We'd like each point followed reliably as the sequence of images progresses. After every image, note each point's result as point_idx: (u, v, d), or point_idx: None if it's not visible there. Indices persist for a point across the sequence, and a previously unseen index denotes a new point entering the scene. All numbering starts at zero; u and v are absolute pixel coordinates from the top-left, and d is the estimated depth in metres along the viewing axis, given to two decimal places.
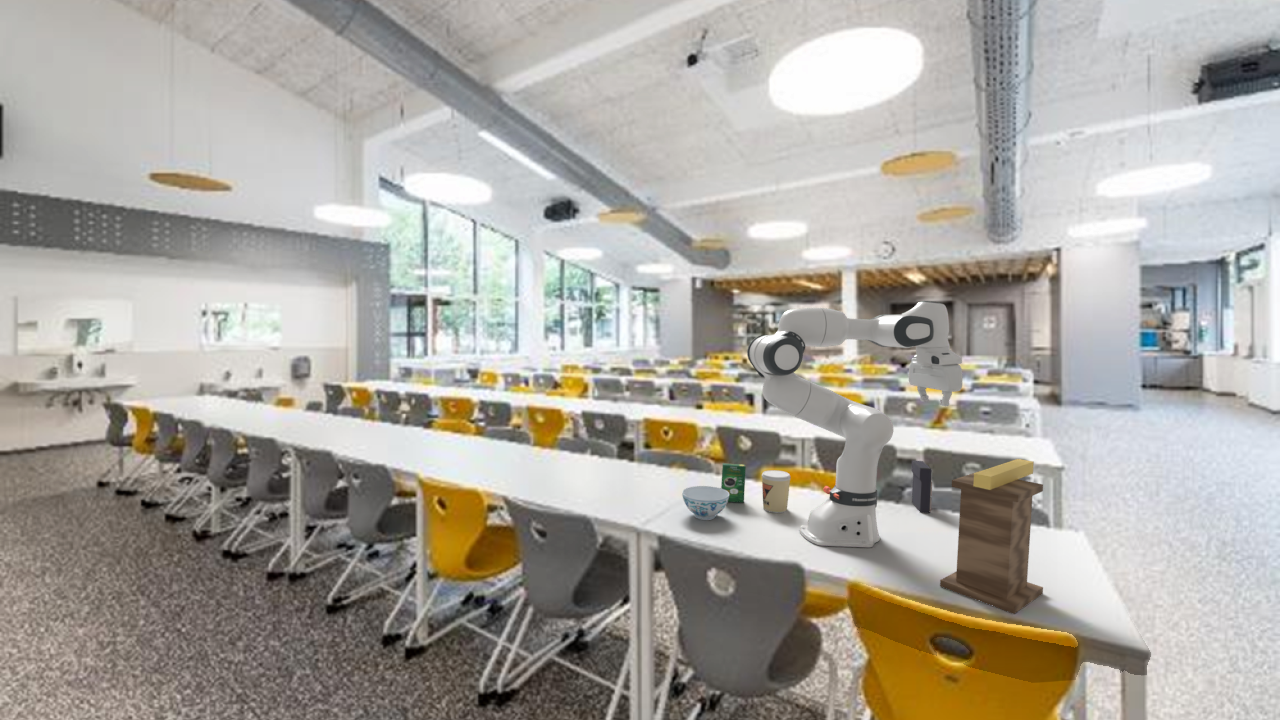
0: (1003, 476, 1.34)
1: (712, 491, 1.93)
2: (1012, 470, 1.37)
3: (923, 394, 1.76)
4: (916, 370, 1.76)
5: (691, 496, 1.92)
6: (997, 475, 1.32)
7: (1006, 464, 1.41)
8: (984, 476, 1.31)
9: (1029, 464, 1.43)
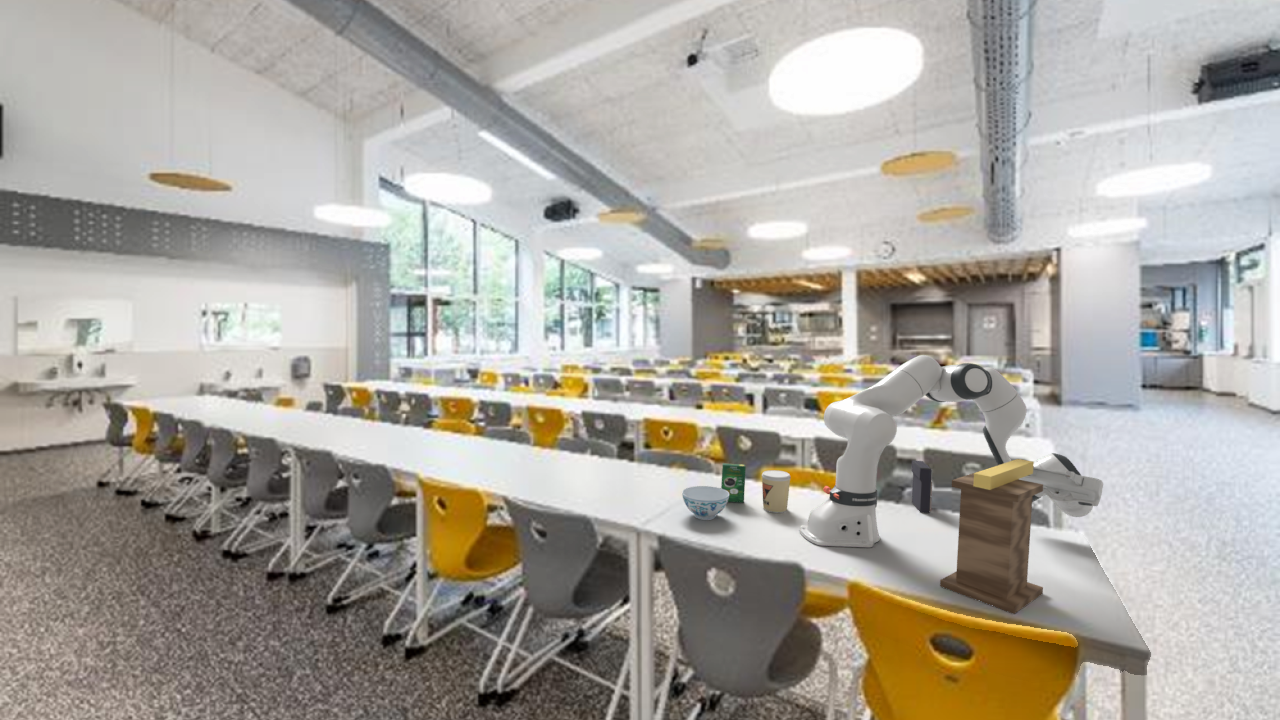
0: (1003, 476, 1.34)
1: (712, 490, 1.93)
2: (1012, 470, 1.37)
3: None
4: None
5: (691, 496, 1.92)
6: (997, 475, 1.32)
7: (1006, 464, 1.41)
8: (984, 476, 1.31)
9: (1029, 464, 1.43)
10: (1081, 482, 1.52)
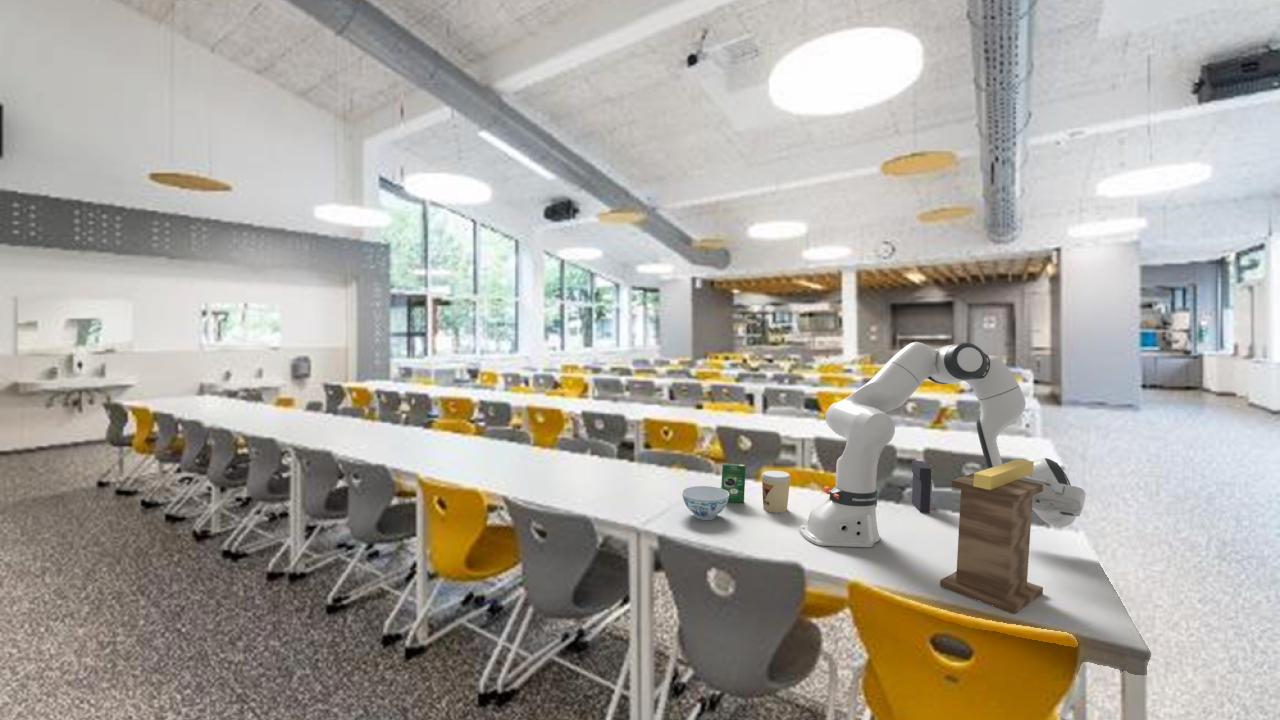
0: (1003, 476, 1.34)
1: (712, 491, 1.93)
2: (1012, 470, 1.37)
3: None
4: None
5: (691, 496, 1.92)
6: (997, 475, 1.32)
7: (1006, 464, 1.41)
8: (984, 476, 1.31)
9: (1029, 464, 1.43)
10: (1062, 491, 1.44)
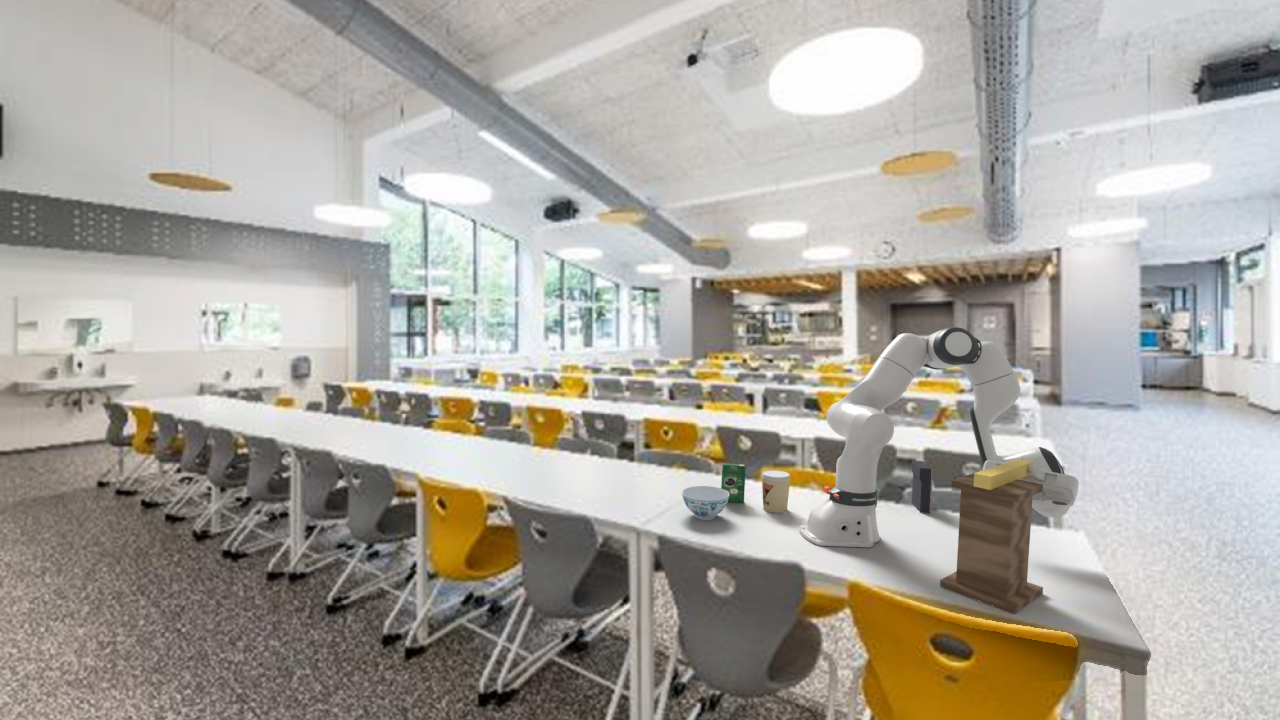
0: (1003, 476, 1.34)
1: (712, 490, 1.93)
2: (1012, 470, 1.37)
3: None
4: None
5: (691, 496, 1.92)
6: (997, 475, 1.32)
7: (1006, 464, 1.41)
8: (984, 476, 1.31)
9: (1029, 464, 1.43)
10: (1043, 477, 1.42)
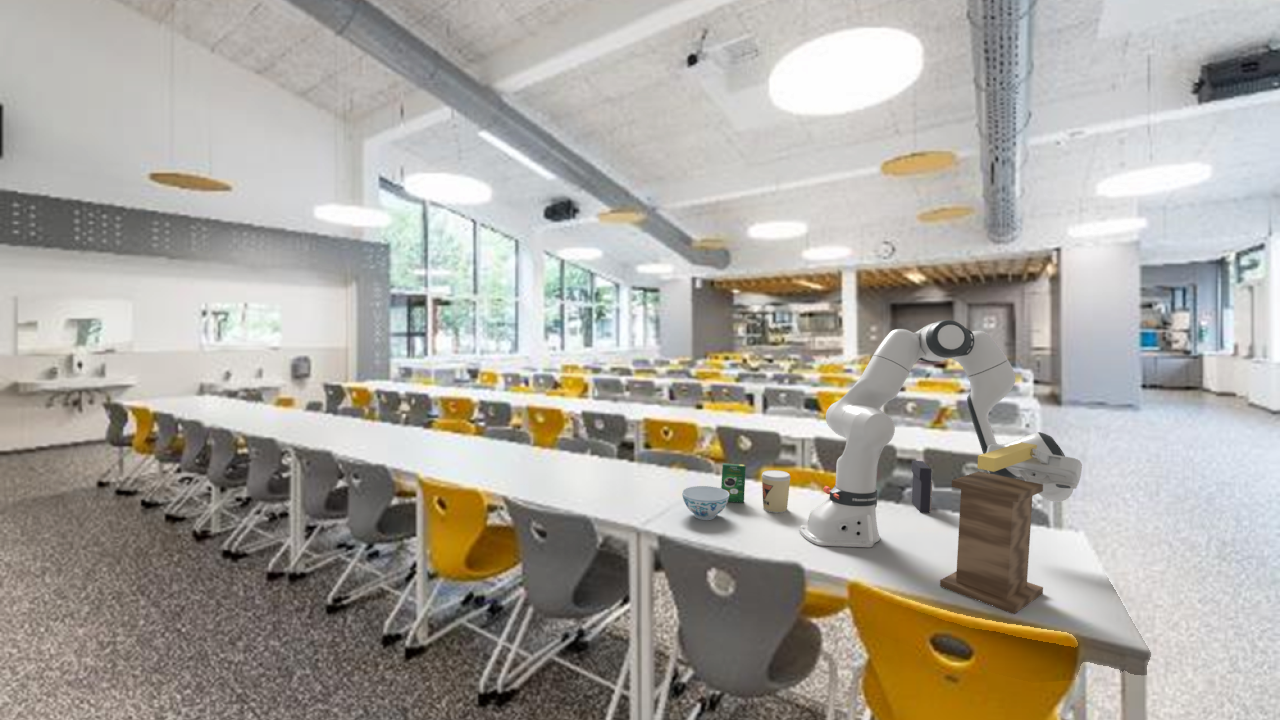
0: (1007, 458, 1.34)
1: (712, 491, 1.93)
2: (1016, 453, 1.37)
3: None
4: None
5: (691, 496, 1.92)
6: (1001, 457, 1.32)
7: (1009, 447, 1.41)
8: (988, 458, 1.31)
9: (1032, 447, 1.43)
10: (1047, 460, 1.43)
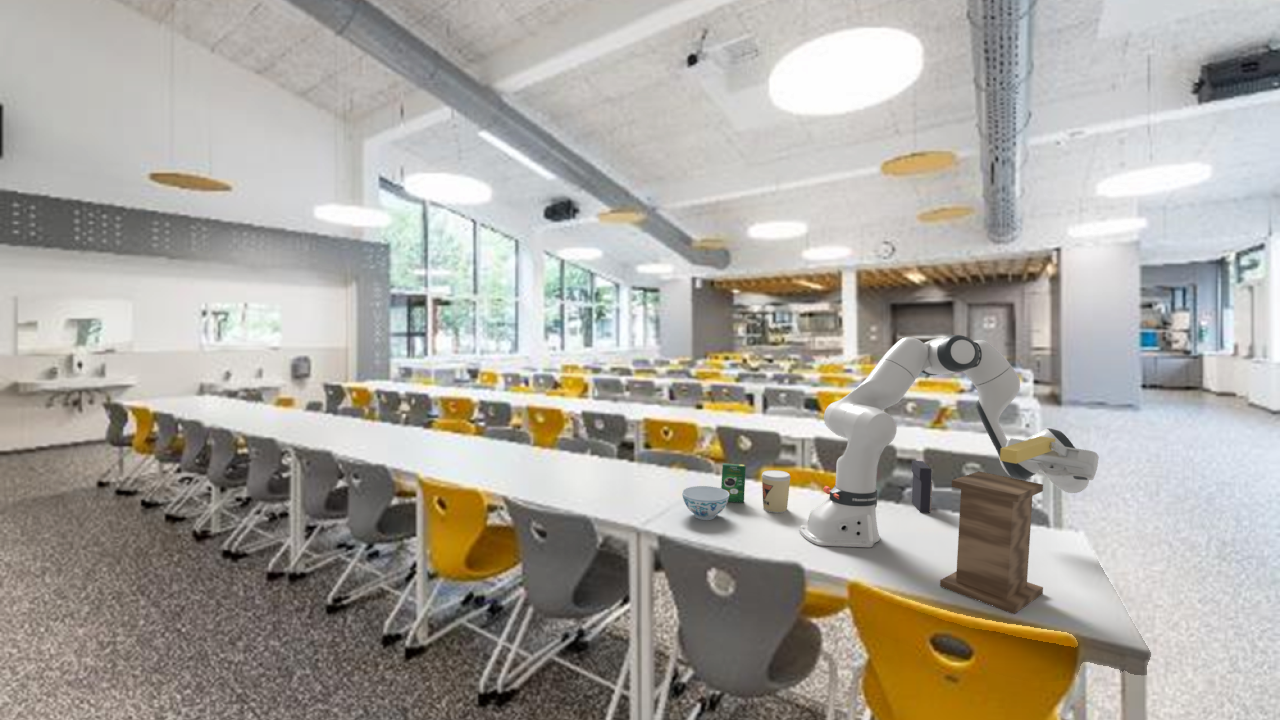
0: (1028, 451, 1.42)
1: (712, 491, 1.93)
2: (1036, 446, 1.44)
3: None
4: None
5: (691, 496, 1.92)
6: (1022, 450, 1.40)
7: (1029, 441, 1.49)
8: (1010, 451, 1.39)
9: (1051, 441, 1.50)
10: (1065, 453, 1.50)
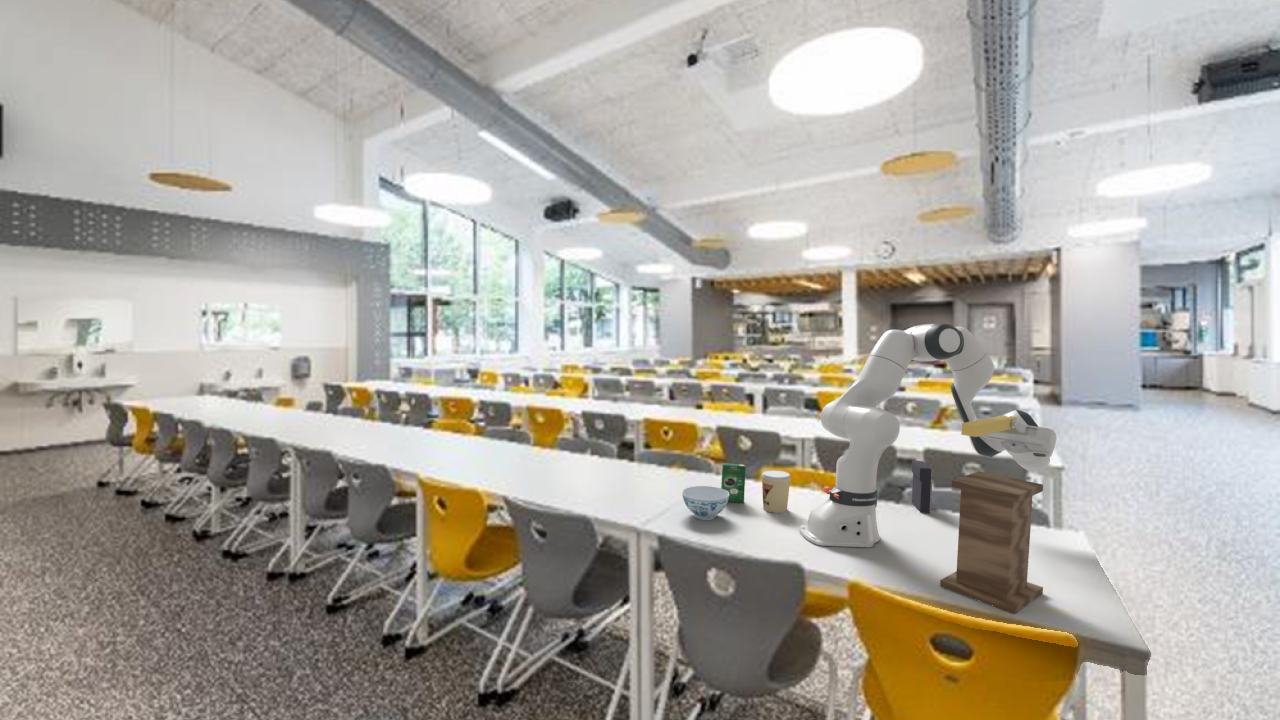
0: (988, 426, 1.52)
1: (712, 491, 1.93)
2: (996, 422, 1.54)
3: None
4: None
5: (691, 496, 1.92)
6: (982, 425, 1.49)
7: (991, 418, 1.58)
8: (971, 425, 1.48)
9: (1012, 419, 1.60)
10: (1025, 431, 1.60)
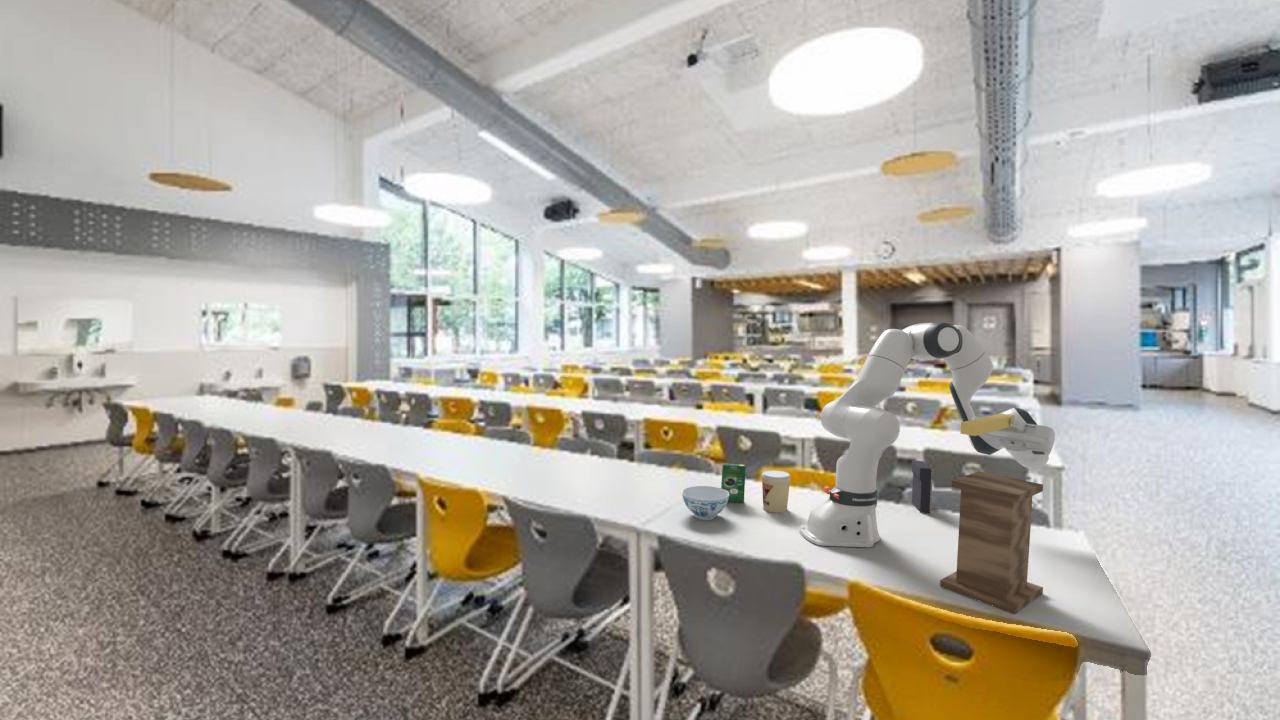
0: (987, 425, 1.52)
1: (712, 490, 1.93)
2: (995, 421, 1.54)
3: None
4: None
5: (691, 496, 1.92)
6: (981, 423, 1.50)
7: (990, 417, 1.59)
8: (970, 424, 1.49)
9: (1011, 417, 1.60)
10: (1023, 429, 1.60)
